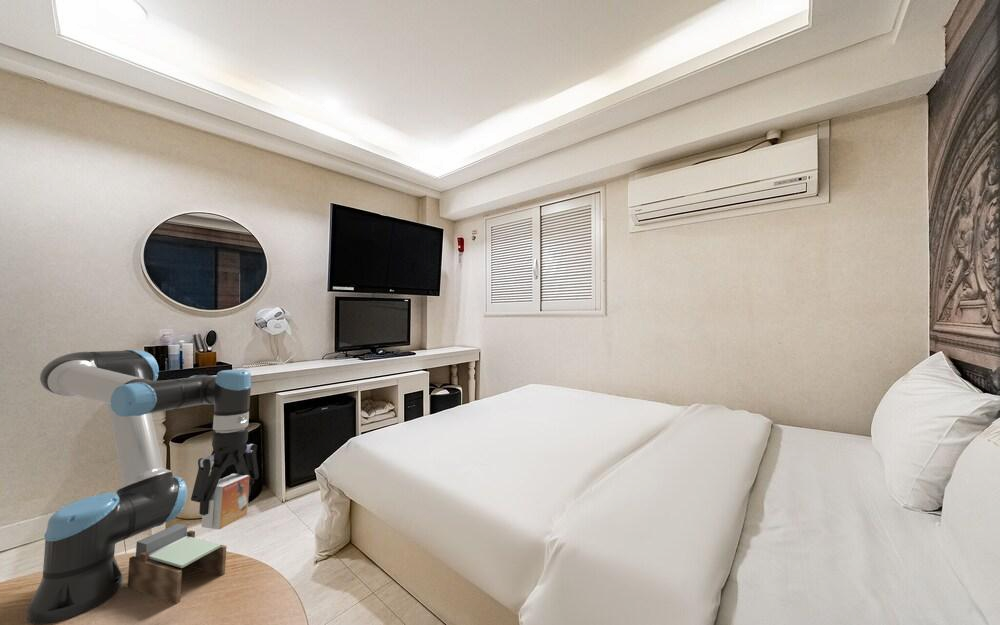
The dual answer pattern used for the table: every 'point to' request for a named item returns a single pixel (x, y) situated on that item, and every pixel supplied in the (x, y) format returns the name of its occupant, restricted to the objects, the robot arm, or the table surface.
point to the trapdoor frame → (169, 573)
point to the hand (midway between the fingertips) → (225, 517)
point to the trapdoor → (174, 547)
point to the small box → (230, 500)
